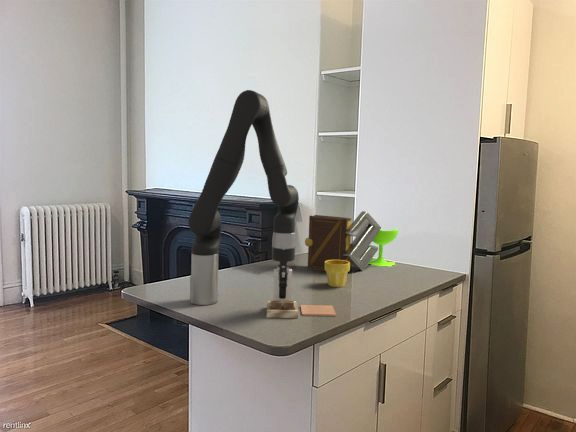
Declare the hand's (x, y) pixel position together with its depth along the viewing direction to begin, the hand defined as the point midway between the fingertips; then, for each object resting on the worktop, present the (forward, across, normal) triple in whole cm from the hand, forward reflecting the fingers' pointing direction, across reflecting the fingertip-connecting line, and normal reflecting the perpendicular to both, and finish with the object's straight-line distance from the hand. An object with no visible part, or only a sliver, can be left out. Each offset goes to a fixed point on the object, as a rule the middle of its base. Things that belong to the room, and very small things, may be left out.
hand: (282, 296), depth 164 cm
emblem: (+5, -65, +38) cm, 75 cm away
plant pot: (+5, -36, +23) cm, 43 cm away
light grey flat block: (+4, 0, 0) cm, 4 cm away
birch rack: (+5, +2, 0) cm, 5 cm away
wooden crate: (+5, -65, +22) cm, 68 cm away
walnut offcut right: (+4, +5, +2) cm, 7 cm away
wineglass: (+5, -81, +51) cm, 96 cm away
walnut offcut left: (+4, +5, -2) cm, 7 cm away
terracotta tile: (+5, 0, +12) cm, 13 cm away
